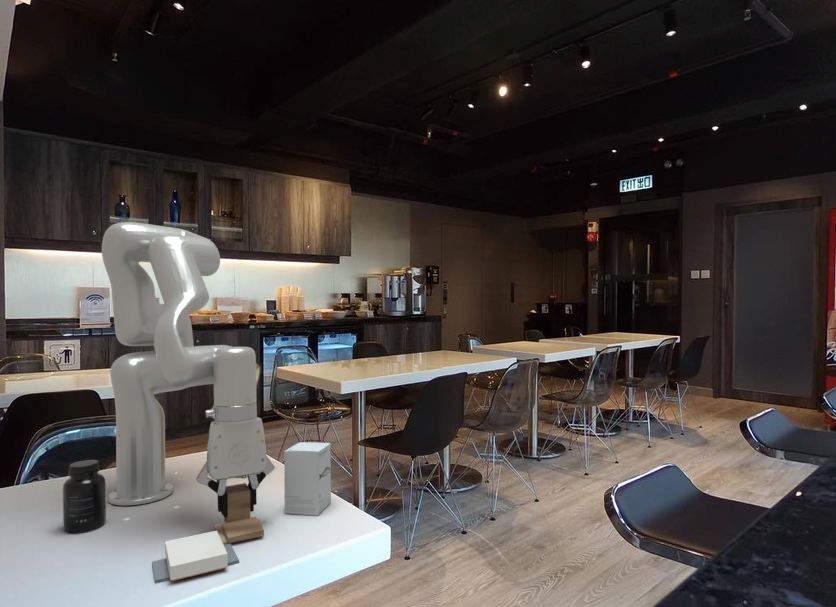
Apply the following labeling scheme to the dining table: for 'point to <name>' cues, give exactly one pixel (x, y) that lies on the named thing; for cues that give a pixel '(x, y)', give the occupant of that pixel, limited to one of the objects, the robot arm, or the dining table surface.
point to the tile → (195, 555)
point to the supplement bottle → (84, 497)
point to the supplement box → (307, 478)
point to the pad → (223, 537)
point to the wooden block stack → (240, 515)
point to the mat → (162, 569)
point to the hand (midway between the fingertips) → (237, 510)
